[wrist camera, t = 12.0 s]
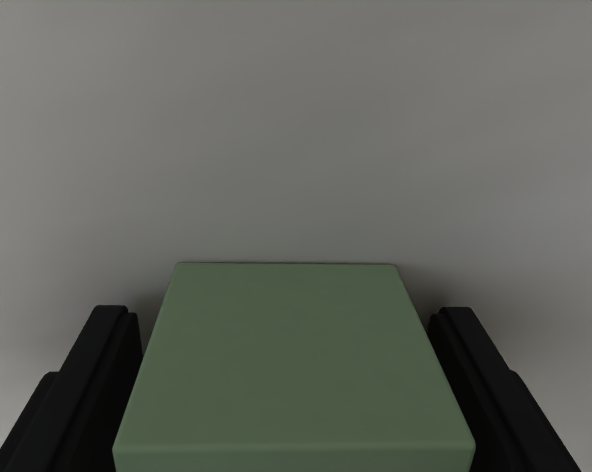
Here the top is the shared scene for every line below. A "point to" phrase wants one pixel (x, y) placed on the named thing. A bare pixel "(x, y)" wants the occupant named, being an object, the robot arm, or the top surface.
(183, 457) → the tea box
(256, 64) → the top surface
